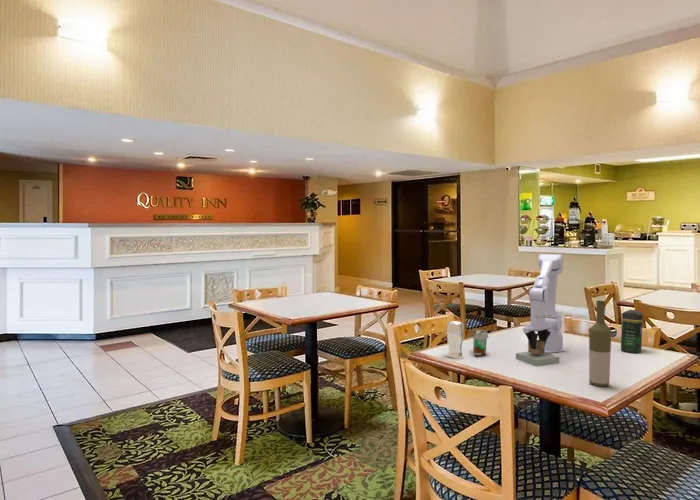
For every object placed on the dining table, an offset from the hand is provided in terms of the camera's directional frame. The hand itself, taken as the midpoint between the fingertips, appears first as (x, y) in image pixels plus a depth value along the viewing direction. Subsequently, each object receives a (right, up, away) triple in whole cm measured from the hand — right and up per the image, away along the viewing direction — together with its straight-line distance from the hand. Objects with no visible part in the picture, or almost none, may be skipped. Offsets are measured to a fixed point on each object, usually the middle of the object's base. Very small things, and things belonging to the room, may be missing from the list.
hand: (537, 348), depth 199 cm
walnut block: (0, -2, +1) cm, 2 cm away
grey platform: (0, -6, 0) cm, 6 cm away
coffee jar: (+49, -5, +16) cm, 51 cm away
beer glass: (-33, -5, +7) cm, 34 cm away
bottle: (+10, -7, -30) cm, 33 cm away
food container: (-21, -5, +11) cm, 24 cm away
